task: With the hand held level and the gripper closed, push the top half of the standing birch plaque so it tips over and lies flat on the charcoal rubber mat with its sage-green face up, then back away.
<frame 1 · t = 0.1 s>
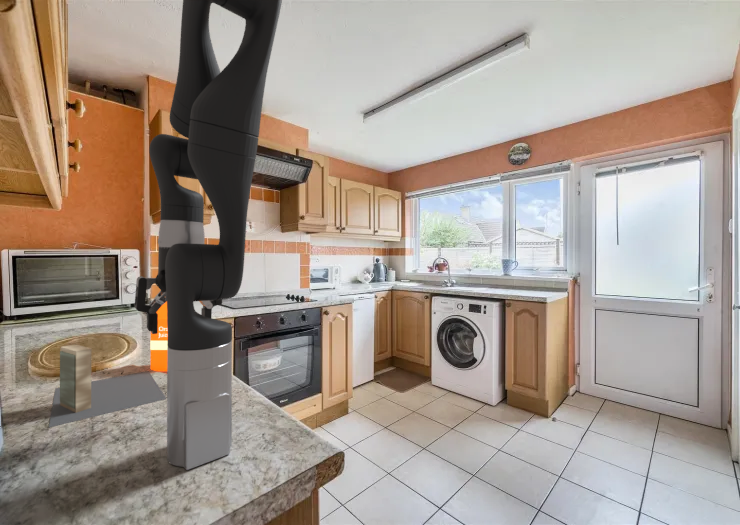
hand: (180, 329, 62), 17 cm above the countertop, tool pointing down, fingers open, 8 cm apart
orange juice: (174, 367, 93), on the countertop
birch plaque: (75, 406, 65), point 1 cm above the countertop, touching rubber mat
rubber mat: (108, 396, 72), on the countertop
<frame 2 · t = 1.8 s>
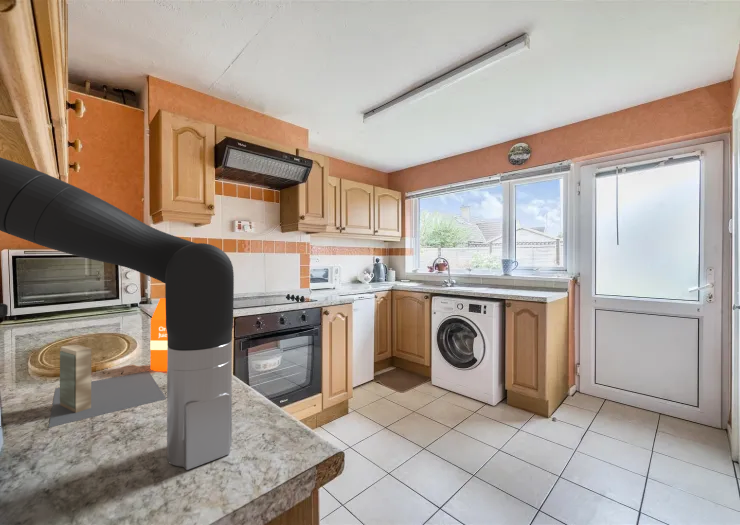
nothing on the countertop moved.
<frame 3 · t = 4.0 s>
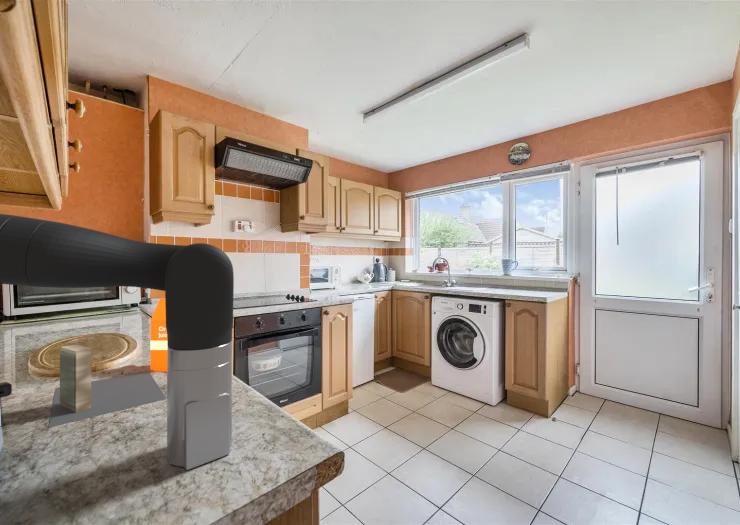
hand: (9, 388, 57), 8 cm above the countertop, tool horizontal, fingers closed
nothing on the countertop moved.
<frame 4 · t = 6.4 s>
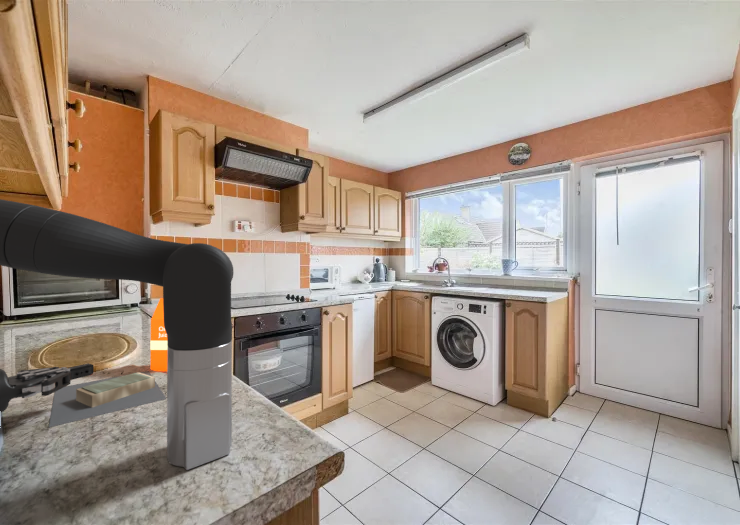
hand: (91, 368, 68), 8 cm above the countertop, tool horizontal, fingers closed
birch plaque: (84, 398, 66), point 2 cm above the countertop, tilted 90°, touching rubber mat
everything else where it was.
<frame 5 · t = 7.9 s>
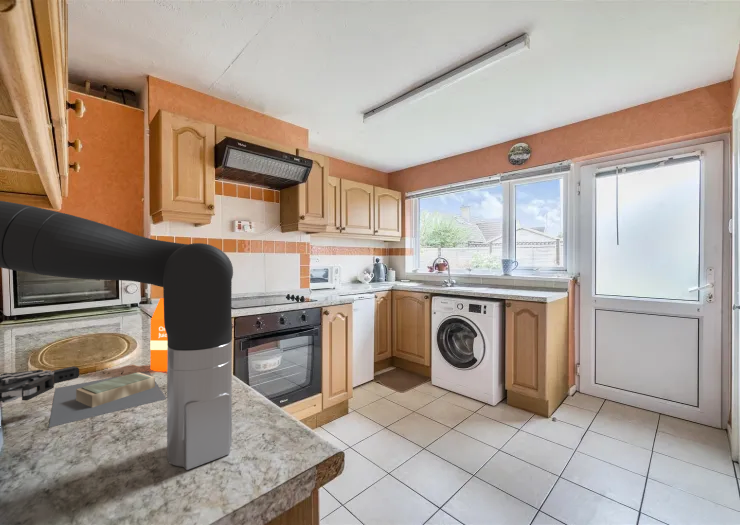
hand: (77, 371, 66), 8 cm above the countertop, tool horizontal, fingers closed
nothing on the countertop moved.
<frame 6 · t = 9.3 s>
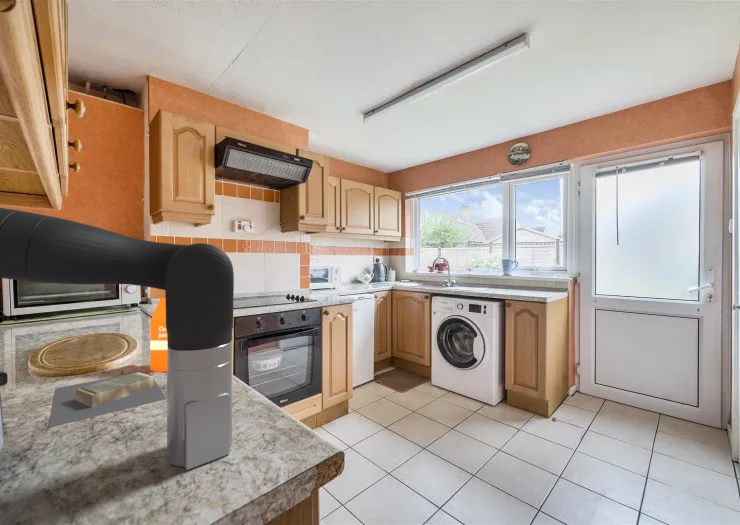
hand: (5, 377, 57), 10 cm above the countertop, tool horizontal, fingers closed
nothing on the countertop moved.
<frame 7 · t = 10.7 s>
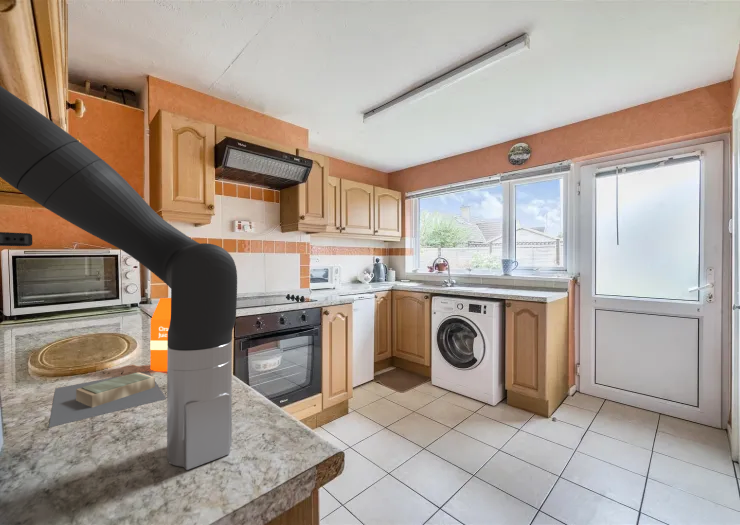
hand: (30, 240, 55), 34 cm above the countertop, tool horizontal, fingers closed
nothing on the countertop moved.
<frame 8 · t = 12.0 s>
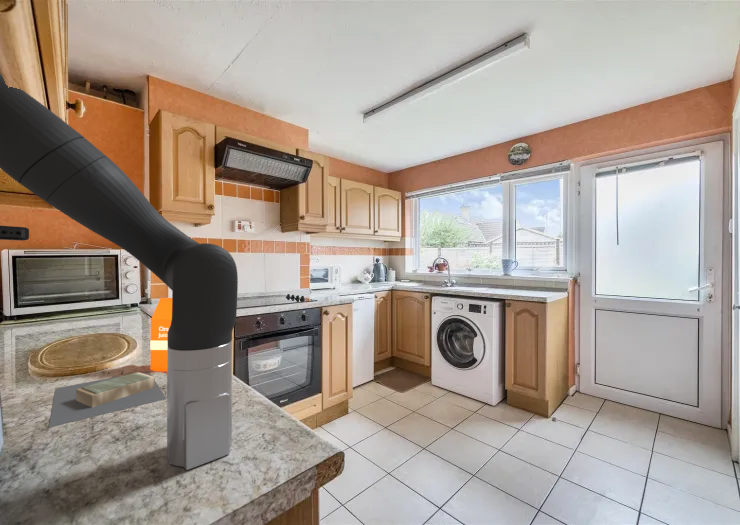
hand: (27, 234, 55), 35 cm above the countertop, tool horizontal, fingers closed
nothing on the countertop moved.
at the end: birch plaque tilted 90°; birch plaque inside the target area (1.2 cm from its centre), point 2.0 cm above the countertop; birch plaque touching rubber mat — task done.
